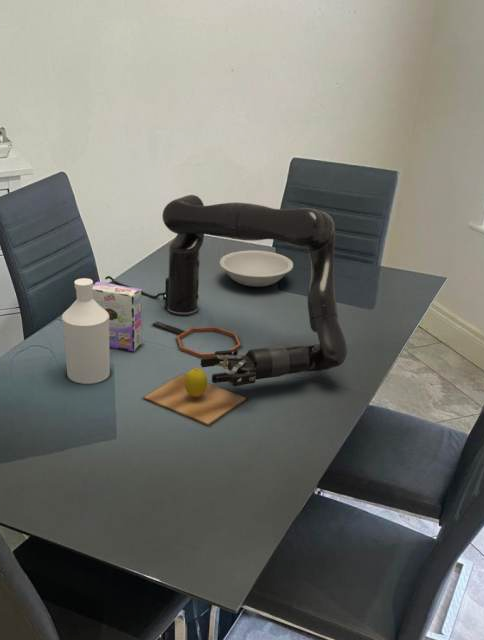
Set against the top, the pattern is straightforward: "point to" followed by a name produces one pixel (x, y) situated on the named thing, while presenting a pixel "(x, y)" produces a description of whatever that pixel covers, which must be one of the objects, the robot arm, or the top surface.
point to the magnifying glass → (183, 333)
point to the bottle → (86, 337)
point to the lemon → (196, 382)
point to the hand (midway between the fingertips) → (206, 370)
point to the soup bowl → (256, 267)
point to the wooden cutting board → (195, 401)
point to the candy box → (121, 314)
